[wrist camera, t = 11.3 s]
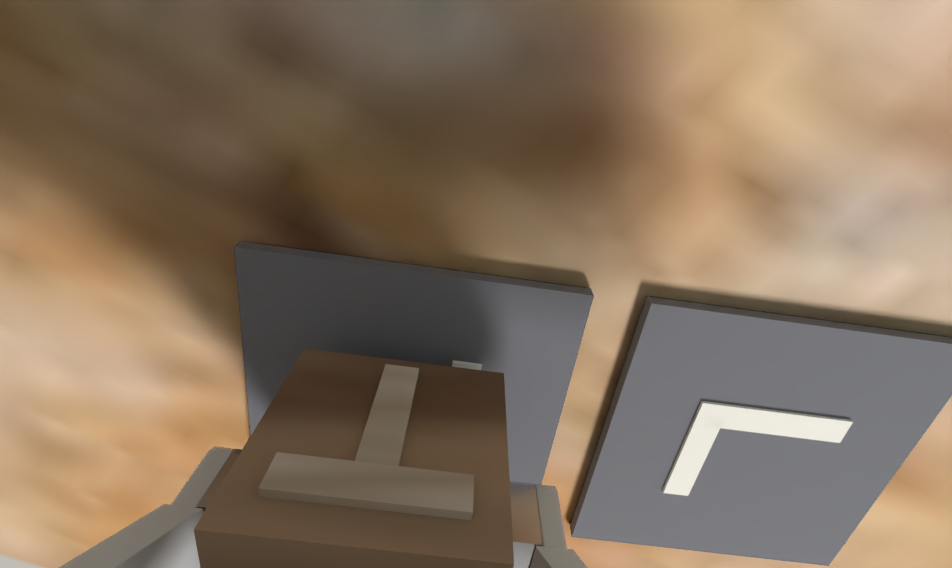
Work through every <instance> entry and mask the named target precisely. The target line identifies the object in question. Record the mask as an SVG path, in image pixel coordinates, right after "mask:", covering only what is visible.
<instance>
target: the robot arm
mask: <svg viewBox="0 0 952 568" xmlns="http://www.w3.org/2000/svg"><path fill="white" fill-rule="evenodd" d="M241 451H242V450H240V449H231V448H224V447H216V446H215V447H213V448H212V449H211V450H209V451H208V452H207V454H206V455H205V457H204V458H203V459H202V461H201V462H200V464H199V465H198V467H197V468H196V469H195V471H194V472H193V474H192V475H191V477H190V478H189V480H188V481H187V482H186V484H185V485H184V487H183V488H182V490H181V491H180V492H179V494H178V495H177V497H176V498H175V500H174V501H173V502H172V504H171V505H168V504H164V505H162V506H160V507H159V508H157V509H155V510H154V511H152V512H150V513H149V514H147V515H145V516H144V517H142V518H140V519H139V520H137V521H135V522H134V523H132V524H130V525H129V526H127V527H125V528H124V529H122V530H120V531H119V532H117V533H115V534H114V535H112V536H110V537H109V538H107V539H105V540H104V541H102V542H100V543H99V544H97V545H95V546H94V547H92V548H90V549H89V550H87V551H86V552H84V553H82V554H81V555H79V556H77V557H76V558H74V559H72V560H71V561H69V562H67V563H66V564H64V565H62V566H61V567H59V568H200V562H199V557H198V551H197V546H196V540H195V535H194V528H195V526H196V525H197V523H198V522H199V520H200V518H201V517H202V515H203V513H204V512H205V510H206V508H207V507H208V505H209V503H210V502H211V500H212V499H213V497H214V495H215V494H216V492H217V490H218V489H219V487H220V485H221V484H222V482H223V481H224V479H225V477H226V476H227V474H228V472H229V471H230V469H231V467H232V466H233V464H234V462H235V461H236V459H237V458H238V456H239V454H240V453H241ZM510 497H511V516H512V535H513V553H514V566H513V568H587V567H586V565H585V564H584V563H583V562H582V560H581V559H580V558H579V557H578V555H577V554H576V553H575V551H574V550H571V549H567V546H566V540H565V534H564V528H563V522H562V516H561V510H560V504H559V498H558V492H557V489H556V487H555V486H547V485H539V484H532V483H522V482H513V481H510Z"/></svg>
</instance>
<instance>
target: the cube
mask: <svg viewBox="0 0 952 568" xmlns="http://www.w3.org/2000/svg"><path fill="white" fill-rule="evenodd" d="M194 535H195V540H196V546H197V551H198V557H199V562H200V568H513V566H514V553H513V535H512V516H511V497H510V478H509V459H508V440H507V421H506V403H505V384H504V373H499V372H491V371H483V370H475V369H467V368H459V367H451V366H443V365H435V364H427V363H419V362H411V361H403V360H395V359H387V358H379V357H371V356H363V355H355V354H347V353H339V352H331V351H323V350H315V349H307V348H304V349H303V351H302V353H301V354H300V356H299V358H298V359H297V361H296V362H295V364H294V366H293V367H292V369H291V371H290V372H289V374H288V376H287V377H286V379H285V381H284V382H283V384H282V385H281V387H280V389H279V390H278V392H277V394H276V395H275V397H274V399H273V400H272V402H271V403H270V405H269V407H268V408H267V410H266V412H265V413H264V415H263V417H262V418H261V420H260V422H259V423H258V425H257V426H256V428H255V430H254V431H253V433H252V435H251V436H250V438H249V440H248V441H247V443H246V444H245V446H244V448H243V449H242V451H241V453H240V454H239V456H238V458H237V459H236V461H235V462H234V464H233V466H232V467H231V469H230V471H229V472H228V474H227V476H226V477H225V479H224V481H223V482H222V484H221V485H220V487H219V489H218V490H217V492H216V494H215V495H214V497H213V499H212V500H211V502H210V503H209V505H208V507H207V508H206V510H205V512H204V513H203V515H202V517H201V518H200V520H199V522H198V523H197V525H196V526H195V528H194Z"/></svg>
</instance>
